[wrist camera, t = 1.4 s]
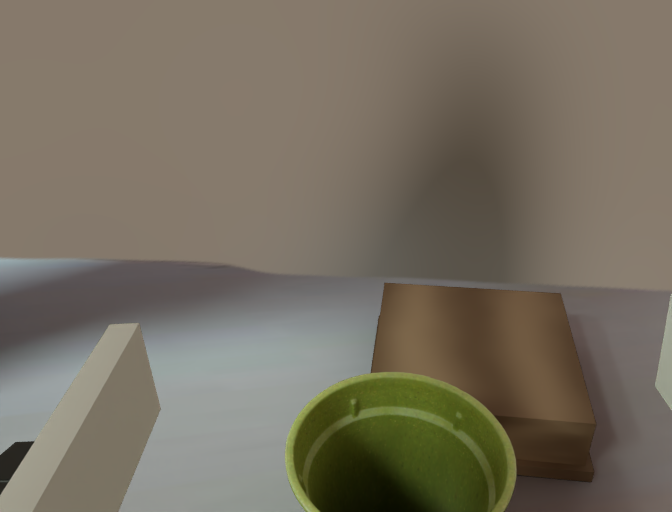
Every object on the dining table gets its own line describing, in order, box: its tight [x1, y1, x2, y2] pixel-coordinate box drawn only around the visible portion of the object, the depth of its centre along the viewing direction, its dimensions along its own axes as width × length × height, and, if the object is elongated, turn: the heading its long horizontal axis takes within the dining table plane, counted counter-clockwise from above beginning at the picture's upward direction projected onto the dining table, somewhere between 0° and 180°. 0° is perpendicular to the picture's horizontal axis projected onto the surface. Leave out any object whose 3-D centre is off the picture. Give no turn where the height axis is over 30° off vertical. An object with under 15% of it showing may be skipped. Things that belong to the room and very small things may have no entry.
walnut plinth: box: [371, 283, 596, 482], centre depth 40 cm, size 13×13×4 cm
